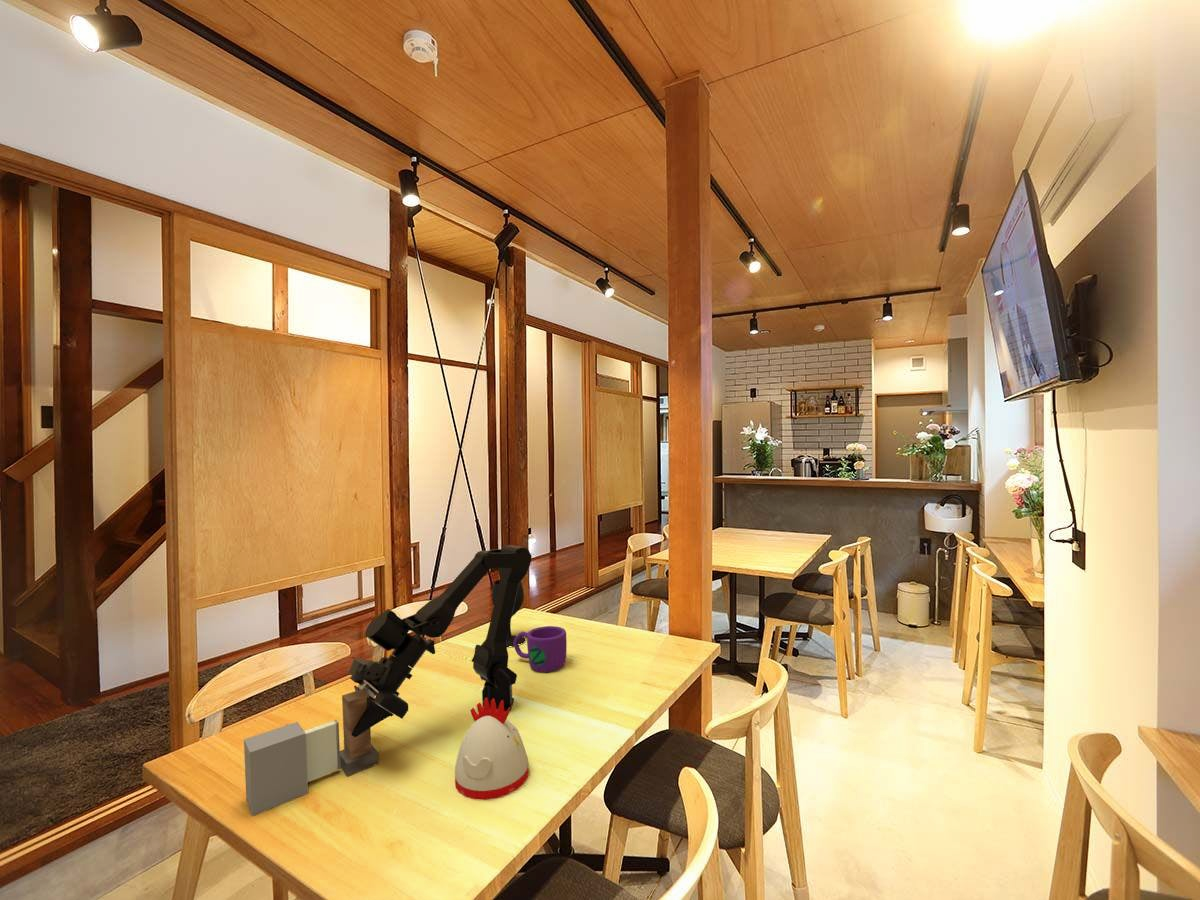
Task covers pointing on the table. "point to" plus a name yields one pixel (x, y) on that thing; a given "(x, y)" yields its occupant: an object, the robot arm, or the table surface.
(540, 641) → the mug
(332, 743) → the pocket door
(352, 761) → the wooden post on base
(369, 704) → the robot arm
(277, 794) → the pocket wall
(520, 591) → the wine glass
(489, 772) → the kitchen timer
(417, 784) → the table surface
